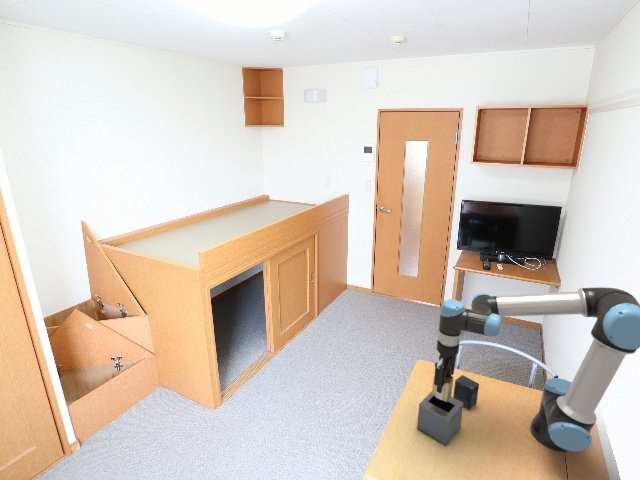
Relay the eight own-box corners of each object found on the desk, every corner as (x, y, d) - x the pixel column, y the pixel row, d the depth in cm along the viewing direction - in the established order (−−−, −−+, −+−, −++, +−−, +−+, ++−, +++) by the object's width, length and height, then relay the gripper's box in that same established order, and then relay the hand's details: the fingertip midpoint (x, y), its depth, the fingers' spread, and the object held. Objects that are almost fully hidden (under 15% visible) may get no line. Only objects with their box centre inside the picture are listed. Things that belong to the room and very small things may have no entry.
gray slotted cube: (460, 428, 150) (463, 403, 147) (445, 446, 142) (449, 420, 139) (432, 412, 158) (434, 388, 155) (416, 429, 150) (419, 403, 146)
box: (476, 404, 163) (479, 383, 160) (469, 410, 159) (472, 389, 156) (459, 394, 169) (462, 374, 165) (452, 400, 165) (455, 379, 162)
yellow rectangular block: (450, 397, 145) (453, 379, 143) (446, 402, 143) (449, 384, 140) (436, 389, 149) (438, 372, 146) (431, 394, 147) (433, 376, 144)
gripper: (449, 328, 146) (443, 380, 154) (427, 346, 135) (421, 401, 142) (468, 336, 142) (461, 389, 149) (447, 355, 130) (440, 412, 137)
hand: (442, 395), depth 146 cm, fingers closed on yellow rectangular block, 3 cm apart
